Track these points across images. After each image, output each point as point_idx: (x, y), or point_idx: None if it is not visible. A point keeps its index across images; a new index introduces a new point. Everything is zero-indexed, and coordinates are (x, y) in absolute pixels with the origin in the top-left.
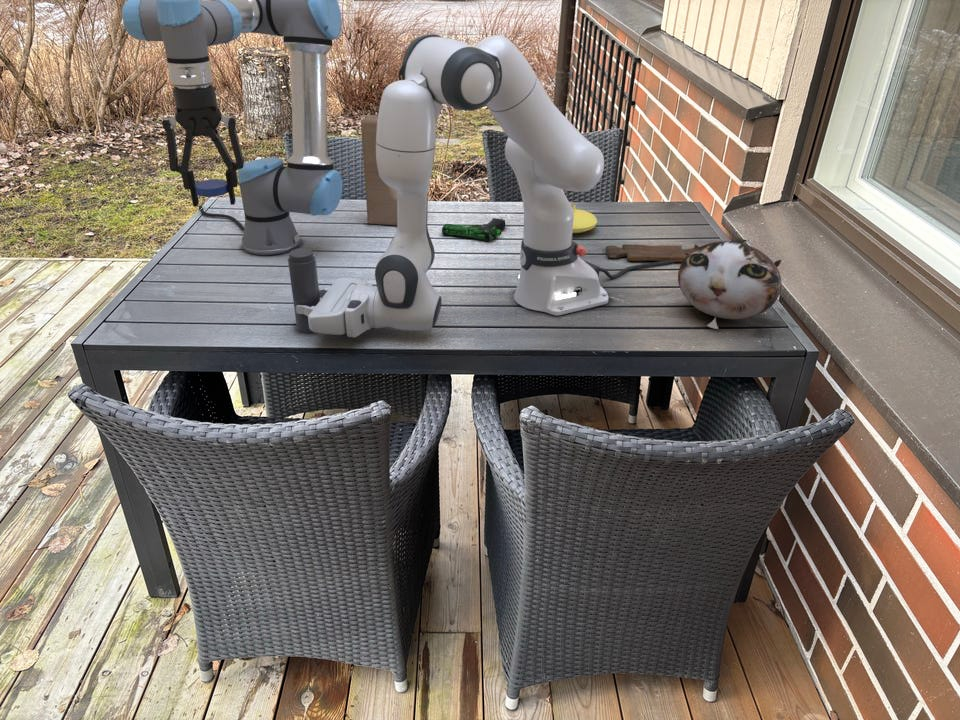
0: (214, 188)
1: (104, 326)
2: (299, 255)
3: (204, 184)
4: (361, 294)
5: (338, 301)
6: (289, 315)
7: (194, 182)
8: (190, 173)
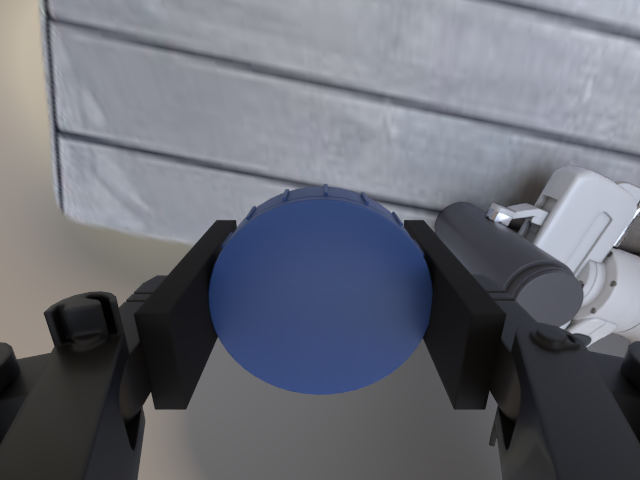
0: (349, 389)
1: (68, 154)
2: (540, 321)
3: (276, 310)
4: (604, 326)
5: None
6: (425, 169)
7: (203, 293)
8: (170, 378)
